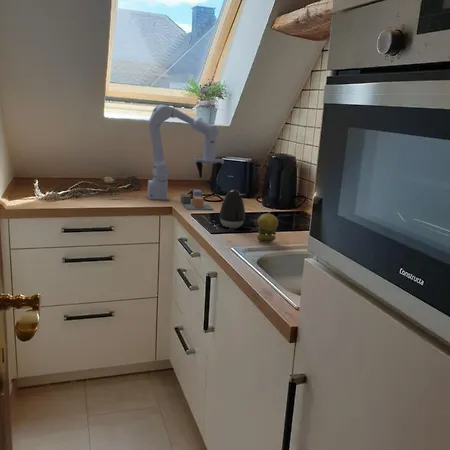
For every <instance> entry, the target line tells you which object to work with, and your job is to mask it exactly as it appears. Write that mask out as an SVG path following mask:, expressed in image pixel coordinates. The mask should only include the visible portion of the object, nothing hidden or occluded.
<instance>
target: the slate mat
mask: <svg viewBox="0 0 450 450" xmlns="http://www.w3.org/2000/svg"><path fill="white" fill-rule="evenodd" d="M182 205H183V207H184V208H185V210H186V209H187V210H186V211H214V208H213V207H212V206H211V205H210V204H207V203H206V204H205V203H203V208H195V207H194V206H193V205H192V203H191V204H182Z"/></svg>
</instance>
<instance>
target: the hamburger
mask: <svg viewBox="0 0 450 450" xmlns="http://www.w3.org/2000/svg"><path fill="white" fill-rule="evenodd" d="M256 221H257V225H258V226H259V227H257V229H258V231H257V233H258V235H256V238H257V240H258V241H259V242H263V241H267V242H266V243H268V241H270V242H274V241H275V240H276V238H277V237H276V235H277V233H276V232H277V227H278V226H279V220H278V218H277V217H276V216H275V215H274V214H272V213H271V212H270V211H269V212H266V213H263V214H261V215H260V216H258V218H257V220H256Z"/></svg>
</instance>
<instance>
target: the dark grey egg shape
mask: <svg viewBox="0 0 450 450" xmlns="http://www.w3.org/2000/svg"><path fill="white" fill-rule="evenodd" d="M246 196H247V194H246V193H241V192H240V191H239V190H237V189H230V190H228V192H227V193H226V195H225V196H224V199H223V201H222V203H221V206H220V210H219V220H220V224H222V226H223V227H224V226H225V228H226V227H229V228H228V229H231V228H235V229H238V228H240V227H241V226H242V225H243V224H244V222H245V219H246V212H245V211H246V209H245V204H244V199H243V198H244V197H246Z"/></svg>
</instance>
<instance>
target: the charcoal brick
mask: <svg viewBox="0 0 450 450" xmlns="http://www.w3.org/2000/svg"><path fill="white" fill-rule="evenodd" d="M180 203H181V204H182V205H183V204H192V196H191V195H190V194H189V193H181V194H180Z"/></svg>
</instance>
